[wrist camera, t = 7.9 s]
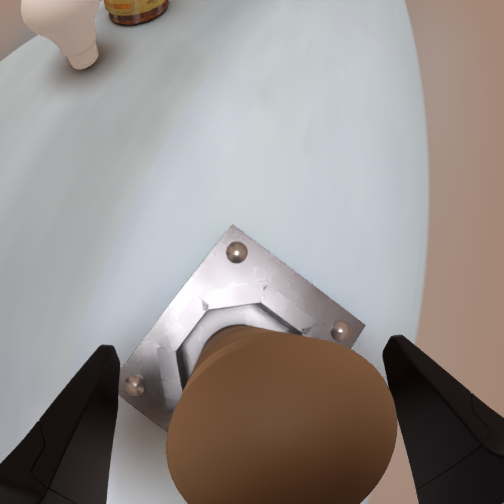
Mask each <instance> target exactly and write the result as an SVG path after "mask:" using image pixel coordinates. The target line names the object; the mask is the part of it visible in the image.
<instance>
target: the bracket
mask: <svg viewBox="0 0 504 504" xmlns="http://www.w3.org/2000/svg"><path fill="white" fill-rule="evenodd" d="M234 324H245V325H250V326H255V327H259V328H264V329H269V330H274V331H279V332H284V333H290V334H295V335H300V336H306V337H311V338H317V339H323V340H327V341H331V342H334V343H337V344H340V345H342V346H344V347H346V348H349V349H351V347H352V346H353V344H354V343H355V341H356V340H357V338H358V337H359V335H360V333H361V332H362V330H363V329H364V327H365V324H363V323H362V322H361V321H359V320H358V319H357V318H356V317H354V316H353V315H352V314H350V313H349V312H348V311H346V310H345V309H344V308H342V307H341V306H340V305H339V304H337V303H336V302H335V301H333V300H332V299H331V298H329V297H328V296H327V295H325V294H324V293H323V292H322V291H320V290H319V289H318V288H316V287H315V286H314V285H312V284H311V283H310V282H308V281H307V280H306V279H304V278H303V277H302V276H301V275H299V274H298V273H297V272H295V271H294V270H293V269H291V268H290V267H289V266H287V265H286V264H285V263H283V262H282V261H281V260H279V259H278V258H277V257H275V256H274V255H273V254H272V253H270V252H269V251H268V250H266V249H265V248H264V247H262V246H261V245H260V244H258V243H257V242H256V241H254V240H253V239H252V238H250V237H249V236H248V235H246V234H245V233H244V232H242V231H241V230H240V229H238V228H237V227H236V226H234V225H232V226H231V227H230V228H229V230H228V231H227V232H226V233H225V235H224V236H223V237H222V238H221V240H220V241H219V242H218V243H217V245H216V246H215V247H214V248H213V250H212V251H211V252H210V253H209V255H208V256H207V257H206V258H205V260H204V261H203V262H202V264H201V265H200V266H199V267H198V269H197V270H196V271H195V272H194V274H193V275H192V276H191V278H190V279H189V280H188V281H187V283H186V284H185V285H184V287H183V288H182V289H181V290H180V292H179V293H178V294H177V296H176V297H175V298H174V300H173V301H172V302H171V303H170V305H169V306H168V307H167V309H166V310H165V311H164V313H163V314H162V315H161V317H160V318H159V319H158V320H157V322H156V323H155V324H154V326H153V327H152V328H151V330H150V331H149V332H148V334H147V335H146V336H145V338H144V339H143V340H142V342H141V343H140V344H139V346H138V347H137V348H136V350H135V351H134V352H133V354H132V355H131V356H130V358H129V359H128V361H127V362H126V363H125V365H124V366H123V367H122V369H121V370H120V378H119V395H120V396H121V397H122V398H123V399H125V400H126V401H127V402H128V403H130V404H131V405H132V406H133V407H135V408H136V409H137V410H139V411H140V412H141V413H142V414H144V415H145V416H146V417H148V418H149V419H151V420H152V421H153V422H155V423H156V424H157V425H159V426H160V427H162V428H163V429H164V430H166V431H167V432H168V429H169V424H170V422H171V419H172V416H173V413H174V410H175V408H176V406H177V404H178V401H179V399H180V397H181V395H182V393H183V390H184V388H185V386H186V384H187V382H188V379H189V377H190V375H191V373H192V370H193V368H194V366H195V364H196V362H197V359H198V357H199V355H200V353H201V351H202V348H203V346H204V344H205V343H206V341H207V340H208V338H209V337H210V336H211V335H212V334H214V333H215V332H216V331H218V330H219V329H221V328H223V327H226V326H229V325H234Z"/></svg>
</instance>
